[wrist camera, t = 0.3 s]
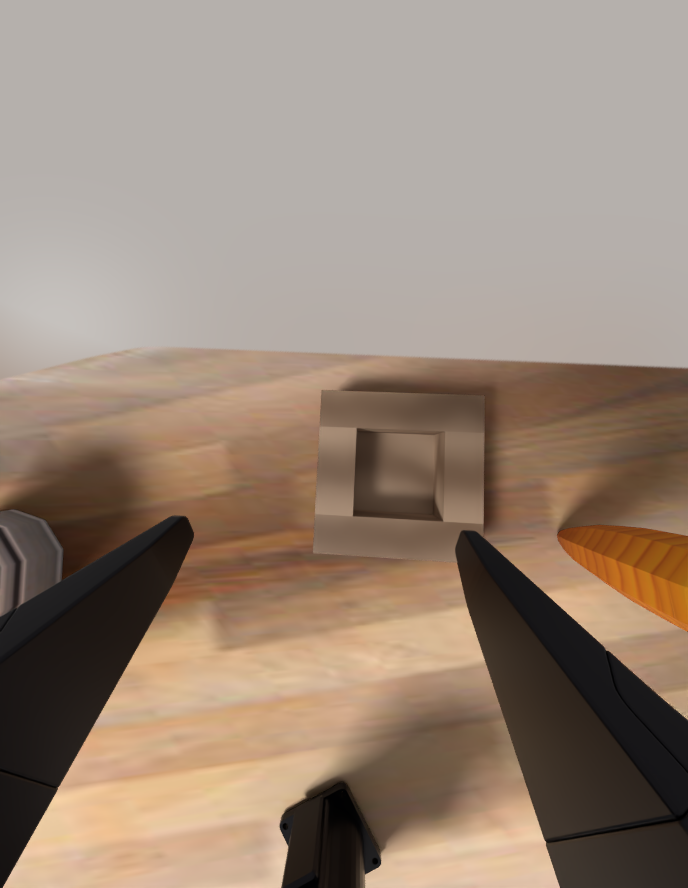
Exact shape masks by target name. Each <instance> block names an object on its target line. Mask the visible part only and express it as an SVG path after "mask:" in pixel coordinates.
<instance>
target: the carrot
mask: <svg viewBox="0 0 688 888" xmlns="http://www.w3.org/2000/svg"><path fill="white" fill-rule="evenodd" d="M557 537H558V541H559V543H560V544H561V546H562V547H563V549H564V550H565V551H566V552H567V553H568V554H569V555H570V556H571V558H572V559H573V560H575V561H576V562H577V563H579V564H580V565H582V566H583V567H584V568H586V569H587V570H588V571H590V572H591V573H593V574H594V575H595V576H597V577H598V578H600V579H601V580H602V581H604V582H605V583H606V584H608V585H609V586H611V587H612V588H614V589H615V590H617V591H618V592H620V593H621V594H623V595H624V596H626V597H627V598H628V599H630V600H631V601H633V602H635V603H637V604H638V605H640V606H642V607H644V608H646V609H647V610H649V611H651V612H653V613H654V614H656V615H658V616H660V617H661V618H663V619H665V620H667V621H669V622H670V623H672V624H674V625H676V626H678V627H680V628H682V629H683V630H685V631H687V632H688V536H684V535H679V534H673V533H668V532H662V531H657V530H652V529H646V528H636V527H625V526H609V525H592V526H582V527H574V528H568V529H565V530H561V531H560V532H559V533H558V535H557Z"/></svg>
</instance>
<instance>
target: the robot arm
mask: <svg viewBox="0 0 688 888" xmlns="http://www.w3.org/2000/svg"><path fill="white" fill-rule="evenodd" d="M193 538H194V532H193V529H192V527H191V525H190V522H189V520H188V518H187V517H186V516H179V515H174V516H171V517H169V518H167V519H165V520H164V521H162V522H160V523H159V524H157V525H155V526H154V527H152V528H150V529H149V530H147V531H145V532H143V533H142V534H140V535H138V536H137V537H135V538H133V539H132V540H130V541H128V542H126V543H125V544H123V545H121V546H120V547H118V548H116V549H115V550H113V551H111V552H109V553H108V554H106V555H104V556H103V557H101V558H99V559H97V560H96V561H94V562H92V563H91V564H89V565H87V566H86V567H84V568H82V569H80V570H79V571H77V572H75V573H74V574H72V575H70V576H69V577H67V578H65V579H63V580H62V581H60V582H58V583H57V584H55V585H53V586H52V587H50V588H48V589H46V590H45V591H43V592H41V593H40V594H38V595H36V596H35V597H33V598H31V599H29V600H28V601H26V602H24V603H23V604H21V605H20V606H19V607H18V608H14V609H12V610H11V611H9V612H7V613H6V614H4V615H2V616H0V888H3V886H4V884H5V882H6V881H7V879H8V877H9V875H10V874H11V872H12V870H13V868H14V866H15V865H16V863H17V861H18V859H19V858H20V856H21V854H22V852H23V850H24V849H25V847H26V845H27V843H28V842H29V840H30V838H31V836H32V834H33V833H34V831H35V829H36V827H37V826H38V824H39V822H40V820H41V819H42V817H43V815H44V813H45V811H46V810H47V808H48V806H49V804H50V803H51V801H52V799H53V797H54V795H55V794H56V792H57V790H58V787H59V786H60V784H61V783H62V781H63V779H64V777H65V775H66V774H67V772H68V770H69V768H70V767H71V765H72V763H73V761H74V759H75V758H76V756H77V754H78V752H79V751H80V749H81V747H82V745H83V743H84V742H85V740H86V738H87V736H88V735H89V733H90V731H91V729H92V727H93V726H94V724H95V722H96V720H97V719H98V717H99V715H100V713H101V711H102V710H103V708H104V706H105V704H106V703H107V701H108V699H109V697H110V695H111V694H112V692H113V690H114V688H115V687H116V685H117V683H118V681H119V679H120V678H121V676H122V674H123V672H124V671H125V669H126V667H127V665H128V663H129V662H130V660H131V658H132V656H133V655H134V653H135V651H136V649H137V647H138V646H139V644H140V642H141V640H142V639H143V637H144V635H145V633H146V632H147V630H148V628H149V626H150V624H151V623H152V621H153V619H154V617H155V616H156V614H157V612H158V610H159V608H160V607H161V605H162V603H163V601H164V600H165V598H166V596H167V594H168V592H169V590H170V589H171V587H172V585H173V583H174V581H175V579H176V576H177V574H178V572H179V570H180V568H181V565H182V563H183V561H184V559H185V556H186V554H187V552H188V550H189V548H190V545H191V543H192V541H193ZM455 554H456V559H457V564H458V568H459V573H460V577H461V581H462V586H463V590H464V595H465V599H466V603H467V607H468V610H469V613H470V616H471V619H472V622H473V625H474V628H475V631H476V634H477V638H478V641H479V644H480V647H481V650H482V653H483V656H484V659H485V662H486V665H487V668H488V671H489V674H490V677H491V680H492V683H493V686H494V689H495V692H496V695H497V698H498V701H499V704H500V707H501V710H502V713H503V716H504V719H505V722H506V725H507V728H508V731H509V734H510V737H511V740H512V743H513V746H514V749H515V752H516V755H517V758H518V761H519V764H520V767H521V770H522V773H523V776H524V779H525V782H526V785H527V788H528V791H529V795H530V798H531V801H532V804H533V807H534V810H535V813H536V816H537V819H538V822H539V825H540V828H541V831H542V834H543V837H544V839H545V841H546V847H547V850H548V853H549V856H550V859H551V862H552V865H553V868H554V871H555V874H556V877H557V880H558V883H559V886H560V888H688V720H687V719H686V718H685V717H683V716H682V715H681V714H680V713H679V712H678V711H676V710H675V709H674V708H673V707H672V706H670V705H669V704H668V703H667V702H666V701H664V700H663V699H662V698H661V697H660V696H659V695H658V694H656V693H655V692H654V691H653V690H652V689H651V688H650V687H649V686H647V685H646V684H645V683H644V682H643V681H642V680H641V679H639V678H638V677H637V676H636V675H635V674H634V673H633V672H632V671H630V670H629V669H628V668H627V667H626V666H625V665H624V664H623V663H622V662H620V661H619V660H618V659H617V658H616V657H615V656H614V655H613V654H612V653H610V652H609V651H606V650H605V647H604V646H603V645H602V644H600V643H599V642H598V641H597V640H596V639H595V638H594V637H593V636H592V635H590V634H589V633H588V632H587V631H586V630H585V629H584V628H583V627H582V626H581V625H579V624H578V623H577V622H576V621H575V620H574V619H573V618H572V617H571V616H569V615H568V614H567V613H566V612H565V611H564V610H563V609H562V608H561V607H560V606H558V605H557V604H556V603H555V602H554V601H553V600H552V599H551V598H550V597H549V596H547V595H546V594H545V593H544V592H543V591H542V590H541V589H540V588H539V587H537V586H536V585H535V584H534V583H533V582H532V581H531V580H530V579H529V578H528V577H526V576H525V575H524V574H523V573H522V572H521V571H520V570H519V569H518V568H516V567H515V566H514V565H513V564H512V563H511V562H510V561H509V560H508V559H507V558H505V557H504V556H503V555H502V554H501V553H500V552H499V551H498V550H497V549H496V548H494V547H493V546H492V545H491V544H490V543H489V542H488V541H487V540H486V539H484V538H483V537H482V536H481V535H480V534H479V533H478V532H476V531H474V530H462V531H461V532H460V535H459V538H458V541H457V543H456V547H455ZM280 830H281V832H282V834H283V836H284V838H285V841H286V843H287V845H288V852H287V858H286V864H285V870H284V875H283V881H282V887H281V888H365V874H367V873H369V872H371V871H372V870H374V869H376V868H378V867H379V866H380V865H381V853H380V850H379V848H378V846H377V844H376V842H375V840H374V838H373V836H372V834H371V832H370V830H369V828H368V826H367V824H366V822H365V820H364V818H363V816H362V814H361V812H360V810H359V808H358V806H357V804H356V802H355V800H354V798H353V796H352V794H351V792H350V790H349V788H348V786H347V784H345V783H339V784H337V785H335V786H334V787H332V788H330V789H328V790H326V791H324V792H323V793H321V794H319V795H317V796H315V797H314V798H312V799H310V800H308V801H306V802H304V803H303V804H301V805H299V806H297V807H295V808H294V809H292V810H290V811H288V812H286V813H284V814H283V815H282V817H281V821H280Z"/></svg>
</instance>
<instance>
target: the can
mask: <svg viewBox="0 0 688 888" xmlns="http://www.w3.org/2000/svg"><path fill="white" fill-rule="evenodd" d="M62 566H63V548H62V546H61V544H60V543H59V541H58V540H57V538H56V536H55V535H54V533H53V531H52V530H51V528H50V527H49V525H48V523H47V522H46V520H44V519H41V518H38V517H36V516H33V515H30V514H27V513H24V512H21V511H18V510H16V509H13V510H6V511H0V616H2V615H4V614H6V613H7V612H9V611H11V610H12V609H14V608H18V607H19V606H20V605H21V604H23V603H24V602H26V601H28V600H29V599H31V598H33V597H35V596H36V595H38V594H40V593H41V592H43V591H45V590H46V589H48V588H50V587H52V586H53V585H55V584H57V583H58V582H60V581H62Z"/></svg>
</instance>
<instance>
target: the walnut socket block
mask: <svg viewBox="0 0 688 888" xmlns="http://www.w3.org/2000/svg"><path fill="white" fill-rule="evenodd" d="M484 419H485V395H458V394H427V393H396V392H365V391H334V390H322V392H321V411H320V429H319V448H318V467H317V485H316V504H315V522H314V541H313V553H321V554H336V555H351V556H366V557H381V558H396V559H411V560H425V561H440V562H455V563H457V559H456V554H455V547H456V543H457V541H458V538H459V535H460V532H461V531H462V530H474V531H476V532H478V533H479V534H480V535H481V536H482V537H483V525H484Z"/></svg>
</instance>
